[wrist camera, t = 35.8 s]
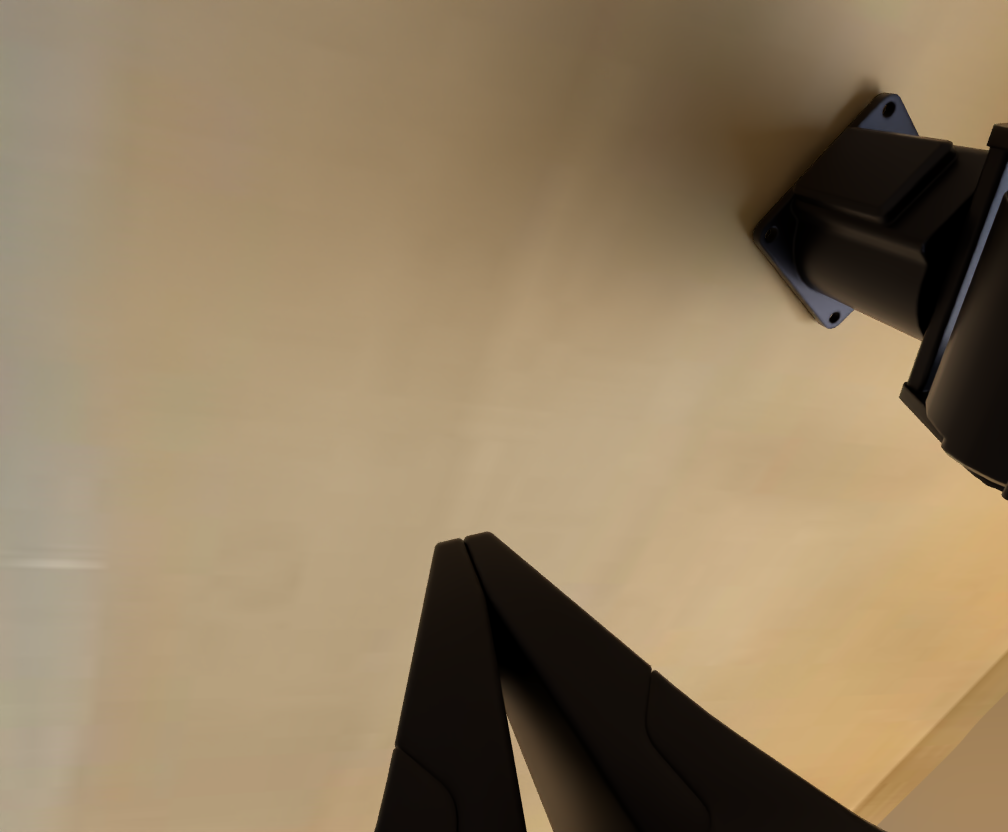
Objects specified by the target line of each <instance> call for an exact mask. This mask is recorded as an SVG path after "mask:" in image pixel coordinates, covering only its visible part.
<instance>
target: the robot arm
mask: <svg viewBox="0 0 1008 832" xmlns="http://www.w3.org/2000/svg"><path fill="white" fill-rule="evenodd" d="M885 105H886V109H885V111H884V113H882V112H883V108H884V107H885ZM987 146H989V147H990V149H989V150H982V149H976V148H969V147H963V146H956V145H953V143H952V142H950V141H948V140H942V139H935V138H928V137H921V136H919V135H918V133H917V131H916V129H915V127H914V125H913V123H912V121H911V118H910V116H909V114H908V112H907V110H906V108H905V106H904V104H903V102H902V100H901V98H900V97H899V96H898V95H897V94H892V93H882V94H879V95H878V96H877V97H875V98H874V99H873V100H872V101H871V103H870V104H869V105H868V106H867V107H866V108H865V109H864V110H863V111H862V112H861V113H860V114H859V115H858V117H857V118H856V119H855V120H854V121H853V122H852V123H851V124H850V125H849V126H848V127H847V128H846V129H845V130H844V132H843V133H842V134H841V135H840V136H839V137H838V138H837V139H836V140H835V141H834V142H833V143H832V144H831V146H830V147H829V148H828V149H827V150H826V151H825V152H824V153H823V154H822V155H821V156H820V157H819V158H818V160H817V161H816V162H815V163H814V164H813V165H812V166H811V167H810V168H809V169H808V170H807V171H806V173H805V174H804V175H803V176H802V177H801V178H800V179H799V180H798V181H797V182H796V183H795V184H794V186H793V187H792V188H791V189H790V190H789V191H788V192H787V193H786V194H785V195H784V196H783V197H782V198H781V200H780V201H779V202H778V203H777V204H776V205H775V206H774V207H773V208H772V209H771V210H770V211H769V212H768V214H767V215H766V216H765V217H764V218H763V219H762V220H761V221H760V222H759V223H758V225H757V226H756V227H755V229H754V232H753V240H754V242H755V244H756V245H757V246H758V248H759V249H760V250H761V251H762V253H763V254H764V255H765V256H766V258H767V259H768V260H769V261H770V263H771V264H772V265H773V266H774V268H775V269H776V270H777V271H778V273H779V274H780V275H781V276H782V278H783V279H784V280H785V281H786V283H787V284H788V285H789V287H790V288H791V289H792V290H793V292H794V293H795V294H796V295H797V297H798V298H799V299H800V300H801V302H802V303H803V304H804V305H805V307H806V308H807V309H808V310H809V312H810V313H811V314H812V315H813V317H814V318H815V319H816V320H817V322H818V323H819V324H821V325H822V326H824V327H826V328H828V329H832V328H835V327H836V326H838V325H839V324H840V323H841V322H842V321H843V320H844V319H845V318H846V317H847V316H848V315H849V314H850V313H851V312H852V311H853V310H854V309H855V310H857V311H859V312H861V313H863V314H865V315H868V316H870V317H872V318H874V319H876V320H878V321H880V322H882V323H884V324H887V325H889V326H891V327H893V328H895V329H897V330H899V331H901V332H903V333H906V334H908V335H910V336H912V337H914V338H916V339H918V340H920V341H922V342H921V345H920V348H919V351H918V354H917V357H916V360H915V362H914V365H913V368H912V371H911V374H910V377H909V379H908V382H905V383H904V384H903V387H902V390H901V393H900V396H899V398H900V399H901V400H902V402H903V403H904V404H905V405H906V406H907V407H908V408H909V409H910V410H911V411H912V412H913V413H914V414H915V415H916V416H917V417H918V419H919V420H920V421H921V422H922V423H923V424H924V425H925V426H926V427H927V428H928V429H929V430H930V431H931V432H932V433H933V435H934V436H935V437H936V438H937V439H938V440H939V441H940V442H941V443H942V444H941V447H942V448H943V450H944V451H945V452H946V453H947V454H948V456H950V457H951V458H953V459H954V460H956V461H957V462H958V463H960V464H961V465H963V466H964V467H965V468H966V469H967V470H968V471H969V472H970V473H971V474H973V475H974V476H975V477H977V478H978V479H980V480H981V481H982V482H983V483H984V484H986V485H987V486H990V487H992V488H996V489H998V490H1000V491H1002V494H1001V495H1002V497H1003V498H1004V499H1006V500H1008V123H1000V124H994V126H993V128H992V131H991V134H990V137H989V140H988V143H987ZM769 229H771V231H770V234H769V236H768V237H767V238H765V236H766V233H767V231H768V230H769ZM831 315H832V316H831ZM830 316H831V317H830ZM651 671H652V668H651V666H650V665H649V664H648V663H646V662H645V661H644V660H643V659H642V658H640V657H639V656H638V655H637V654H636V653H634V652H633V651H632V650H631V649H630V648H629V647H627V646H626V645H625V644H624V643H623V642H621V641H620V640H619V639H618V638H617V637H615V636H614V635H613V634H612V633H611V632H609V631H608V630H607V629H606V628H605V627H603V626H602V625H601V624H600V623H599V622H597V621H596V620H595V619H594V618H593V617H592V616H590V615H589V614H588V613H587V612H586V611H584V610H583V609H582V608H581V607H580V606H578V605H577V604H576V603H575V602H574V601H572V600H571V599H570V598H569V597H568V596H566V595H565V594H564V593H563V592H562V591H560V590H559V589H558V588H557V587H556V586H554V585H553V584H552V583H551V582H550V581H549V580H547V579H546V578H545V577H544V576H543V575H541V574H540V573H539V572H538V571H537V570H535V569H534V568H533V567H532V566H531V565H529V564H528V563H527V562H526V561H525V560H523V559H522V558H521V557H520V556H519V555H517V554H516V553H515V552H514V551H513V550H512V549H510V548H509V547H508V546H507V545H506V544H504V543H503V542H502V541H501V540H500V539H498V538H497V537H496V536H495V535H494V534H492V533H490V532H483V533H478V534H474V535H470V536H467V537H465V539H464V541H463V540H462V539H460V538H457V539H453V540H448V541H444V542H440V543H438V544H437V545H436V546H435V549H434V554H433V559H432V564H431V569H430V574H429V579H428V583H427V588H426V593H425V598H424V603H423V608H422V613H421V618H420V623H419V628H418V633H417V638H416V642H415V647H414V652H413V657H412V662H411V667H410V672H409V677H408V682H407V687H406V692H405V696H404V701H403V706H402V711H401V716H400V721H399V726H398V731H397V736H396V741H395V749H394V750H393V754H392V758H391V763H390V768H389V773H388V778H387V782H386V787H385V791H384V795H383V799H382V803H381V808H380V812H379V816H378V820H377V824H376V828H375V831H374V832H527V831H526V825H525V819H524V813H523V807H522V802H521V796H520V790H519V784H518V778H517V773H516V767H515V761H514V755H513V750H512V744H511V738H510V732H509V726H508V721H507V716H508V719H509V721H510V724H511V726H512V729H513V731H514V734H515V736H516V739H517V741H518V744H519V746H520V749H521V751H522V754H523V756H524V759H525V761H526V764H527V766H528V769H529V771H530V774H531V777H532V779H533V782H534V784H535V787H536V789H537V792H538V794H539V797H540V799H541V802H542V804H543V807H544V809H545V812H546V814H547V817H548V819H549V822H550V824H551V827H552V829H553V832H886V831H884V830H882V829H880V828H879V827H877V826H875V825H873V824H871V823H870V822H868V821H866V820H864V819H863V818H861V817H859V816H858V815H856V814H855V813H853V812H852V811H850V810H849V809H847V808H845V807H844V806H842V805H841V804H840V803H838V802H837V801H835V800H834V799H832V798H831V797H829V796H828V795H826V794H825V793H823V792H822V791H820V790H819V789H817V788H816V787H815V786H813V785H812V784H810V783H809V782H807V781H806V780H804V779H803V778H801V777H800V776H798V775H797V774H795V773H794V772H792V771H791V770H790V769H788V768H787V767H785V766H784V765H782V764H781V763H779V762H778V761H776V760H775V759H773V758H772V757H770V756H769V755H767V754H766V753H765V752H763V751H762V750H760V749H759V748H757V747H756V746H754V745H753V744H751V743H750V742H748V741H747V740H746V739H744V738H743V737H741V736H740V735H739V734H737V733H736V732H734V731H733V730H731V729H730V728H729V727H727V726H726V725H724V724H723V723H722V722H720V721H719V720H717V719H716V718H715V717H713V716H712V715H710V714H709V713H708V712H707V711H705V710H704V709H703V708H702V707H700V706H699V705H698V704H697V703H695V702H694V701H693V700H692V699H690V698H689V697H688V696H686V695H685V694H684V693H683V692H681V691H680V690H679V689H678V688H676V687H675V686H674V685H673V684H672V683H670V682H669V681H668V680H667V679H666V678H665V677H663V676H662V675H661V674H660V673H659V672H658V671H656V670H654V671H652V673H651ZM506 714H507V715H506Z"/></svg>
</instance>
